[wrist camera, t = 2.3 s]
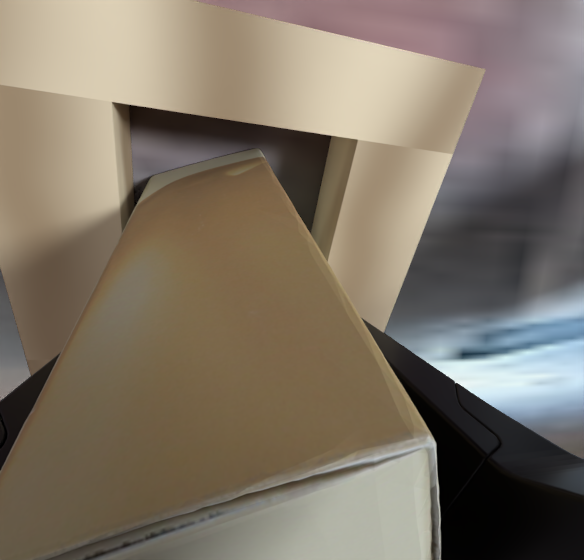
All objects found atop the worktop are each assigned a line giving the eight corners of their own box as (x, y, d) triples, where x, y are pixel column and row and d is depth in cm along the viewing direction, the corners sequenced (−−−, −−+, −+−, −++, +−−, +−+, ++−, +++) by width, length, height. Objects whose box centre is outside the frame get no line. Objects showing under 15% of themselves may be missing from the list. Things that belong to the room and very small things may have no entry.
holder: (440, 66, 13) (485, 69, 11) (345, 354, 20) (361, 389, 18) (-27, -41, 9) (-95, -69, 7) (60, 360, 16) (39, 406, 14)
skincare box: (295, 278, 16) (444, 638, 6) (204, 306, 16) (208, 726, 6) (258, 135, 13) (471, 447, 3) (140, 168, 12) (-115, 647, 2)
